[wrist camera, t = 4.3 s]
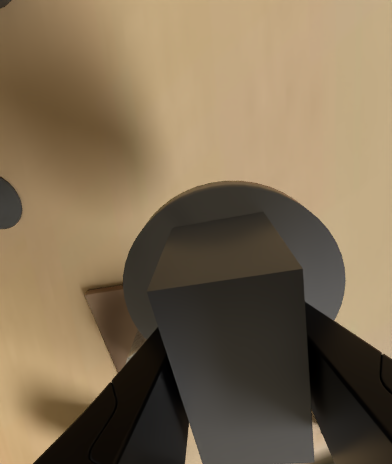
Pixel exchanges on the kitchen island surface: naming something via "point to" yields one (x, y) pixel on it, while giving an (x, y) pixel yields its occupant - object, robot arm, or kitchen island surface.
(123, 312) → the stand
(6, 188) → the sundae
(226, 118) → the kitchen island surface
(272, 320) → the lens cap
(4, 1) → the candle holder
